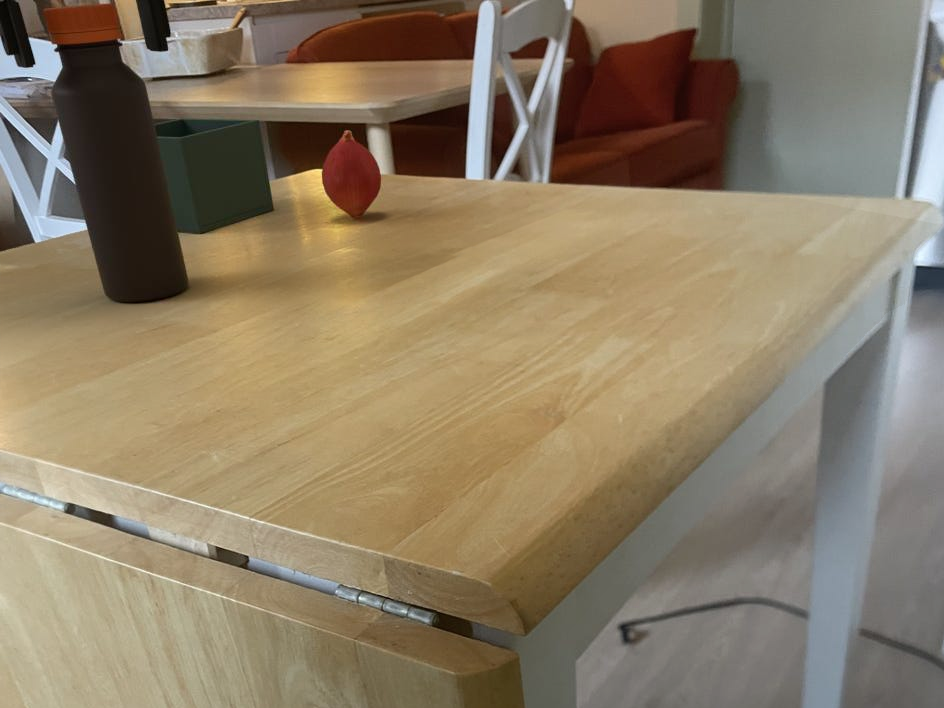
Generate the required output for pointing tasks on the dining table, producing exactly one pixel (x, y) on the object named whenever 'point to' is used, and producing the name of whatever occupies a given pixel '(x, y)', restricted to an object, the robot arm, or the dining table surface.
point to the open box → (214, 171)
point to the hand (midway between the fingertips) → (94, 58)
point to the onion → (351, 176)
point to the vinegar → (114, 157)
